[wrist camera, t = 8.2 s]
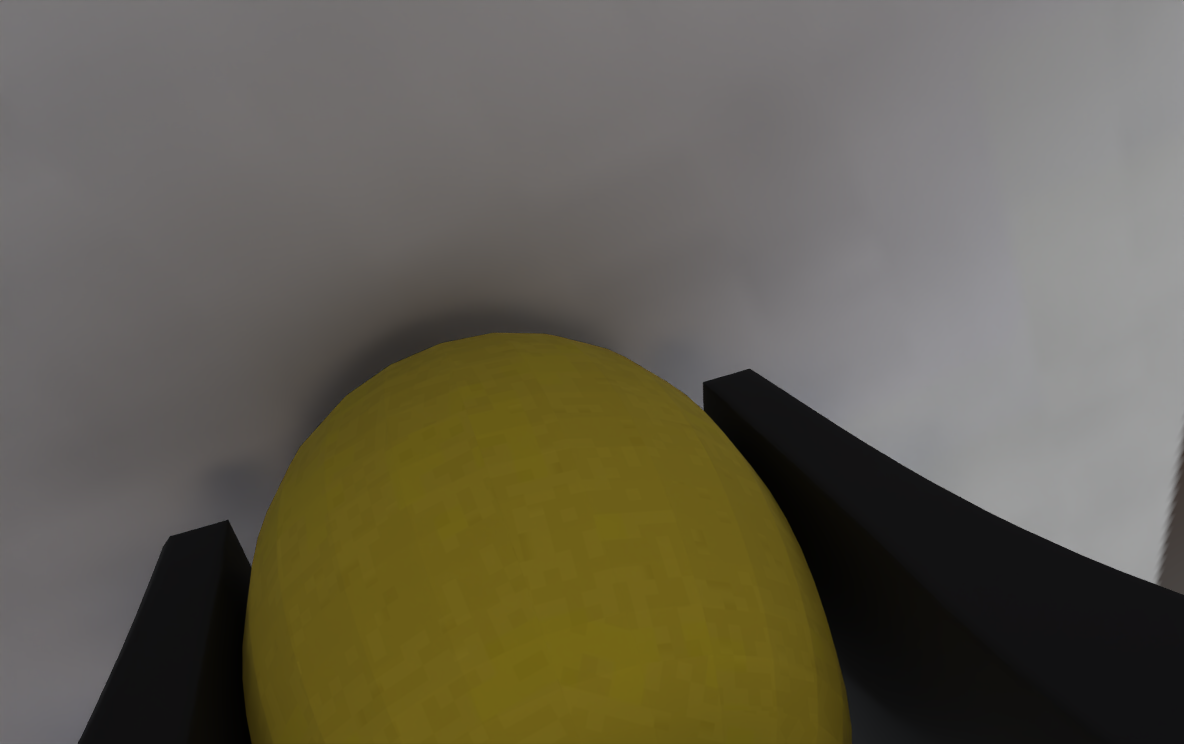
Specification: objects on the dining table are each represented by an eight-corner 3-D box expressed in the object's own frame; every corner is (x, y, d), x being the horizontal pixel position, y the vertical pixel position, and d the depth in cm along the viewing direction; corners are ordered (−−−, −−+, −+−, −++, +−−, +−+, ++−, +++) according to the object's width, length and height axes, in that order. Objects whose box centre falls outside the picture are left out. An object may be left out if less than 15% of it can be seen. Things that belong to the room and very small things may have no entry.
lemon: (176, 257, 10) (130, 1129, 4) (651, 177, 11) (1154, 745, 5) (287, 589, 13) (353, 1340, 7) (645, 498, 15) (951, 1072, 9)
